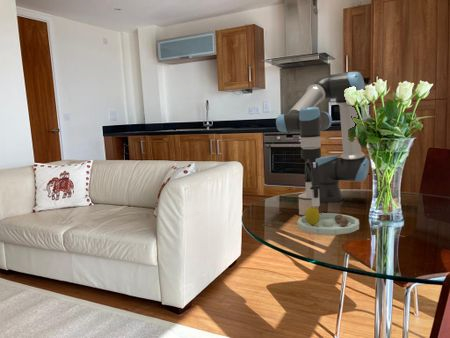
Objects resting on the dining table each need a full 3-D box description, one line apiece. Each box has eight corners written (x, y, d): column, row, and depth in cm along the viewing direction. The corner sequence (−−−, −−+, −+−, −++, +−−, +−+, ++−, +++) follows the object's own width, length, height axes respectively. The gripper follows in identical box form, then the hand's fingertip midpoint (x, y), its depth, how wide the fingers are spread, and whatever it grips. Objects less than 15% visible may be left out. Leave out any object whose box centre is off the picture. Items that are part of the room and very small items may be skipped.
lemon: (305, 228, 141) (305, 208, 140) (305, 224, 147) (304, 204, 146) (320, 228, 140) (319, 207, 139) (319, 224, 146) (318, 204, 145)
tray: (319, 217, 159) (319, 209, 159) (370, 226, 142) (370, 217, 142) (286, 229, 144) (286, 220, 144) (338, 241, 127) (338, 231, 126)
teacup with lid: (318, 218, 158) (317, 192, 156) (297, 217, 161) (296, 191, 160) (320, 211, 169) (320, 187, 167) (301, 211, 172) (300, 186, 171)
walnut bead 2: (342, 224, 143) (342, 215, 143) (350, 225, 141) (350, 217, 140) (337, 226, 141) (337, 217, 141) (345, 228, 138) (345, 219, 138)
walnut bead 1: (337, 221, 148) (337, 213, 148) (345, 222, 145) (345, 214, 145) (333, 223, 146) (332, 214, 145) (340, 224, 143) (340, 216, 143)
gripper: (296, 145, 152) (298, 195, 155) (306, 151, 127) (308, 210, 130) (314, 144, 152) (316, 194, 154) (327, 150, 127) (329, 209, 130)
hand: (312, 201), depth 142 cm, fingers open, 13 cm apart
